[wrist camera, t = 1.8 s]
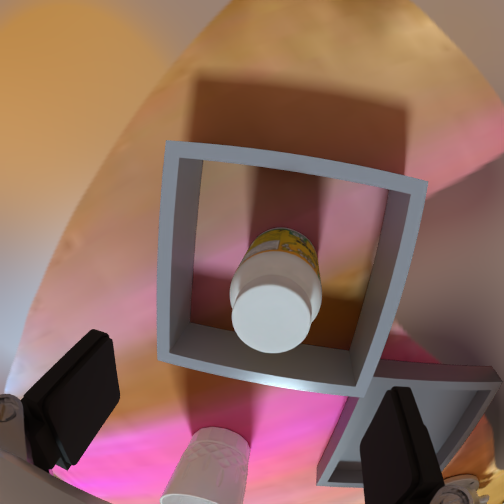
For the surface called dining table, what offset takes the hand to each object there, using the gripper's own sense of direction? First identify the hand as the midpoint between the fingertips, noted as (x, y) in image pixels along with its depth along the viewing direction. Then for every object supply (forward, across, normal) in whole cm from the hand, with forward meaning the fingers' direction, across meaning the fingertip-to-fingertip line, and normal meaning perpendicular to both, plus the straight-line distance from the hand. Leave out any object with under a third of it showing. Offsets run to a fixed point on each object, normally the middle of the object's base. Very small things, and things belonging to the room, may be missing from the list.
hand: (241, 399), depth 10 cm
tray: (+16, -16, +17) cm, 28 cm away
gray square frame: (+16, 0, +1) cm, 16 cm away
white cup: (+16, +2, +24) cm, 29 cm away
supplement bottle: (+16, 0, +1) cm, 16 cm away
